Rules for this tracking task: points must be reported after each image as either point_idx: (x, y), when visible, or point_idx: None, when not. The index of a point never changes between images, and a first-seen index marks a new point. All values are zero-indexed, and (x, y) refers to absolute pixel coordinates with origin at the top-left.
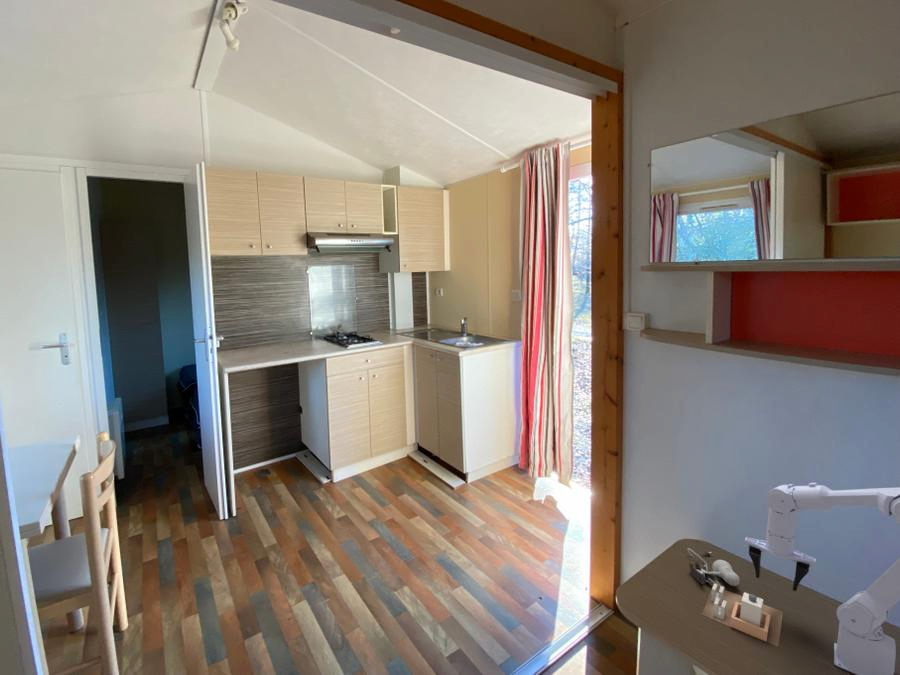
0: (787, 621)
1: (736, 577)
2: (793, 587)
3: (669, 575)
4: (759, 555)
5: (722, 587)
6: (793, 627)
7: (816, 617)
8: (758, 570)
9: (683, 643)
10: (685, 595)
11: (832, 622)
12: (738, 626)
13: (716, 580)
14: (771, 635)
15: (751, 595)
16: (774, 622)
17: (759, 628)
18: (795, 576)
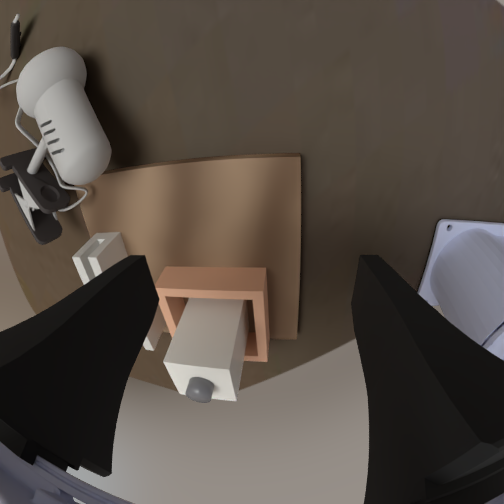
0: (317, 181)
1: (86, 168)
2: (356, 326)
3: (16, 208)
4: (94, 466)
5: (95, 263)
6: (336, 204)
7: (406, 82)
8: (135, 355)
9: (156, 381)
10: (69, 263)
11: (448, 86)
12: None
13: (64, 187)
14: (278, 312)
15: (193, 396)
16: (279, 249)
17: (248, 359)
18: (371, 423)
